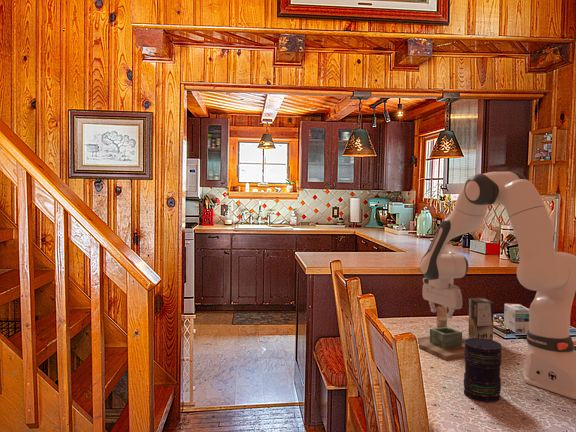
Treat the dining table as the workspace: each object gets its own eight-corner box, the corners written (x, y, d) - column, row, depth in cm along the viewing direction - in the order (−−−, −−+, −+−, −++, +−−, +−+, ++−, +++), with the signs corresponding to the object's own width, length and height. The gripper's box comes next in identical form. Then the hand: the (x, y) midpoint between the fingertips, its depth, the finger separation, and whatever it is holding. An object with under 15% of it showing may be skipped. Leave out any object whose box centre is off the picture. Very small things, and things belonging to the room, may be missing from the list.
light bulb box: (531, 336, 191) (532, 309, 190) (514, 336, 191) (515, 309, 190) (519, 328, 202) (519, 303, 201) (503, 328, 202) (503, 303, 201)
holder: (484, 353, 171) (485, 335, 170) (445, 360, 164) (445, 341, 163) (445, 337, 189) (446, 321, 189) (408, 343, 182) (409, 326, 182)
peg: (448, 331, 197) (449, 307, 197) (441, 332, 196) (441, 308, 195) (442, 328, 201) (442, 305, 201) (434, 329, 199) (435, 306, 199)
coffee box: (493, 345, 180) (494, 302, 179) (476, 345, 180) (477, 302, 179) (484, 337, 189) (485, 297, 188) (467, 337, 189) (468, 297, 188)
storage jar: (470, 385, 143) (471, 335, 142) (504, 393, 137) (506, 342, 136) (458, 396, 135) (459, 344, 134) (494, 406, 129) (495, 351, 128)
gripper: (466, 286, 189) (465, 320, 190) (431, 277, 208) (431, 308, 209) (454, 287, 187) (453, 322, 187) (420, 278, 205) (419, 309, 206)
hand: (441, 314), depth 198 cm, fingers open, 8 cm apart
